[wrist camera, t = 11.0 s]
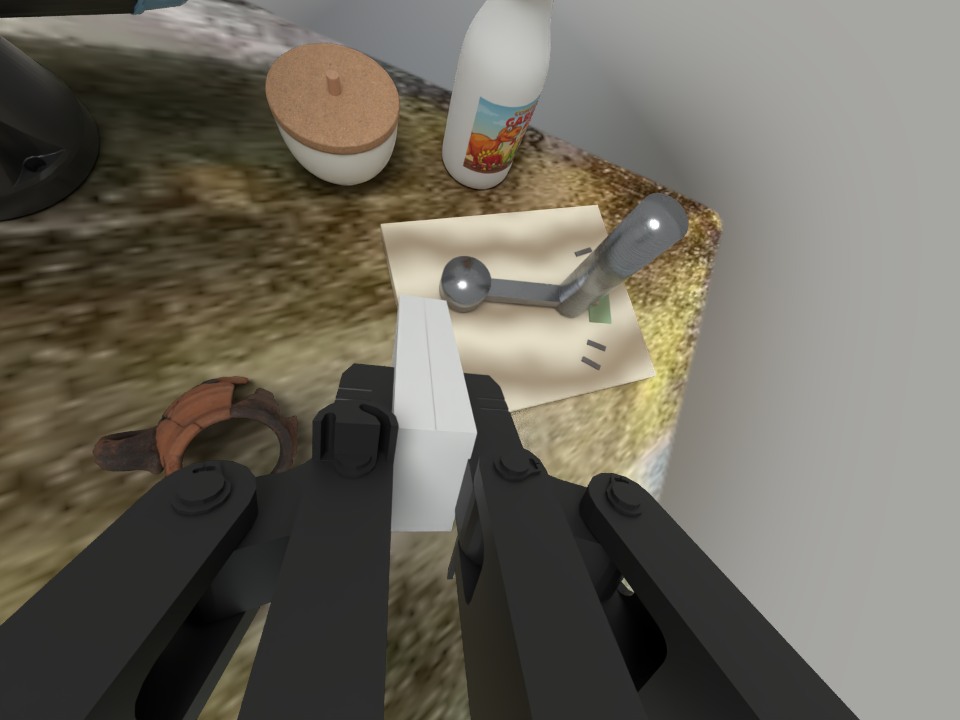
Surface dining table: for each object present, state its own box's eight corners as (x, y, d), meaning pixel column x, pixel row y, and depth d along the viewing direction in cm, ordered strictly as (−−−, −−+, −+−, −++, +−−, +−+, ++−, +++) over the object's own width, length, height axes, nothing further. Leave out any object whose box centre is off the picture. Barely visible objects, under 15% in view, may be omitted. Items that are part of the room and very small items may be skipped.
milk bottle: (431, 174, 42) (469, -61, 23) (452, 123, 44) (502, -129, 25) (498, 202, 43) (586, -1, 24) (515, 150, 45) (607, -72, 26)
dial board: (380, 235, 39) (380, 222, 37) (588, 215, 45) (598, 203, 43) (424, 433, 35) (427, 431, 33) (644, 379, 41) (657, 375, 39)
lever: (438, 310, 35) (469, 219, 22) (439, 266, 36) (469, 155, 23) (597, 322, 39) (705, 251, 26) (593, 282, 40) (695, 194, 27)
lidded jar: (397, 125, 42) (400, 36, 34) (397, 210, 40) (400, 139, 31) (291, 109, 40) (264, 8, 31) (283, 199, 37) (251, 118, 28)
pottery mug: (282, 361, 34) (295, 381, 27) (297, 459, 36) (313, 501, 29) (97, 386, 28) (54, 420, 21) (128, 503, 30) (99, 568, 23)
